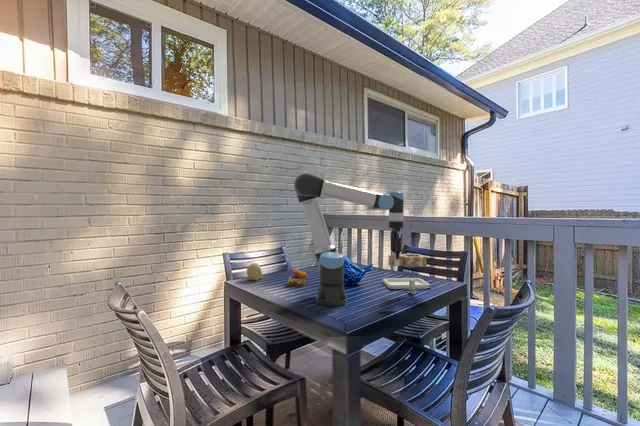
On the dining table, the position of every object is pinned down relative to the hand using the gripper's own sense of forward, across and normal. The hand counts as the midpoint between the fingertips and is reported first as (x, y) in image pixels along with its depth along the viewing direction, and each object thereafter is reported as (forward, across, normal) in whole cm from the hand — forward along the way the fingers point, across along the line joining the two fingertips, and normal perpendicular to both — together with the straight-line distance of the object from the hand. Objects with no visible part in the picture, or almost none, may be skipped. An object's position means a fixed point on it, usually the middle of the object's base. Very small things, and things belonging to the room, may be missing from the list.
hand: (395, 264), depth 174 cm
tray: (+15, +16, -11) cm, 25 cm away
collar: (0, 0, -6) cm, 6 cm away
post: (+15, 0, -9) cm, 18 cm away
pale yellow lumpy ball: (+16, +37, +79) cm, 89 cm away
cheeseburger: (+16, +24, +52) cm, 60 cm away
